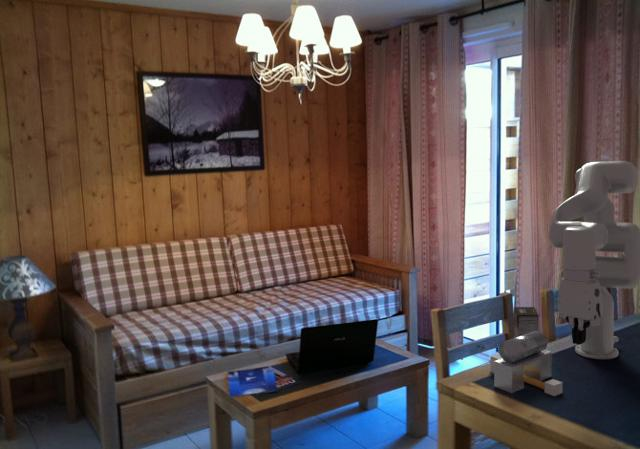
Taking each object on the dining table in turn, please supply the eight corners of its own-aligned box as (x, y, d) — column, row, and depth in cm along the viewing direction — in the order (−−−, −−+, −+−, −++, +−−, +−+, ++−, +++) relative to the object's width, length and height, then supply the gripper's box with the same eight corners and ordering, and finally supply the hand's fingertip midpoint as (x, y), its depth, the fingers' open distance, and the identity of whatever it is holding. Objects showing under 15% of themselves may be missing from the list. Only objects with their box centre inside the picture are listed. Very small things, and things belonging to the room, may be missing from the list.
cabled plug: (497, 366, 175) (496, 351, 174) (563, 392, 155) (563, 375, 154) (486, 370, 173) (486, 354, 172) (552, 396, 152) (552, 379, 152)
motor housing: (533, 370, 171) (533, 327, 169) (551, 376, 166) (551, 331, 164) (494, 386, 161) (493, 340, 159) (511, 393, 156) (511, 346, 154)
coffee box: (513, 354, 185) (513, 306, 183) (534, 354, 183) (534, 306, 181) (517, 364, 176) (517, 314, 174) (539, 365, 175) (539, 314, 173)
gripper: (615, 276, 141) (615, 346, 143) (561, 267, 153) (561, 332, 156) (599, 282, 137) (598, 354, 139) (544, 272, 149) (544, 339, 152)
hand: (578, 342), depth 148 cm, fingers closed
